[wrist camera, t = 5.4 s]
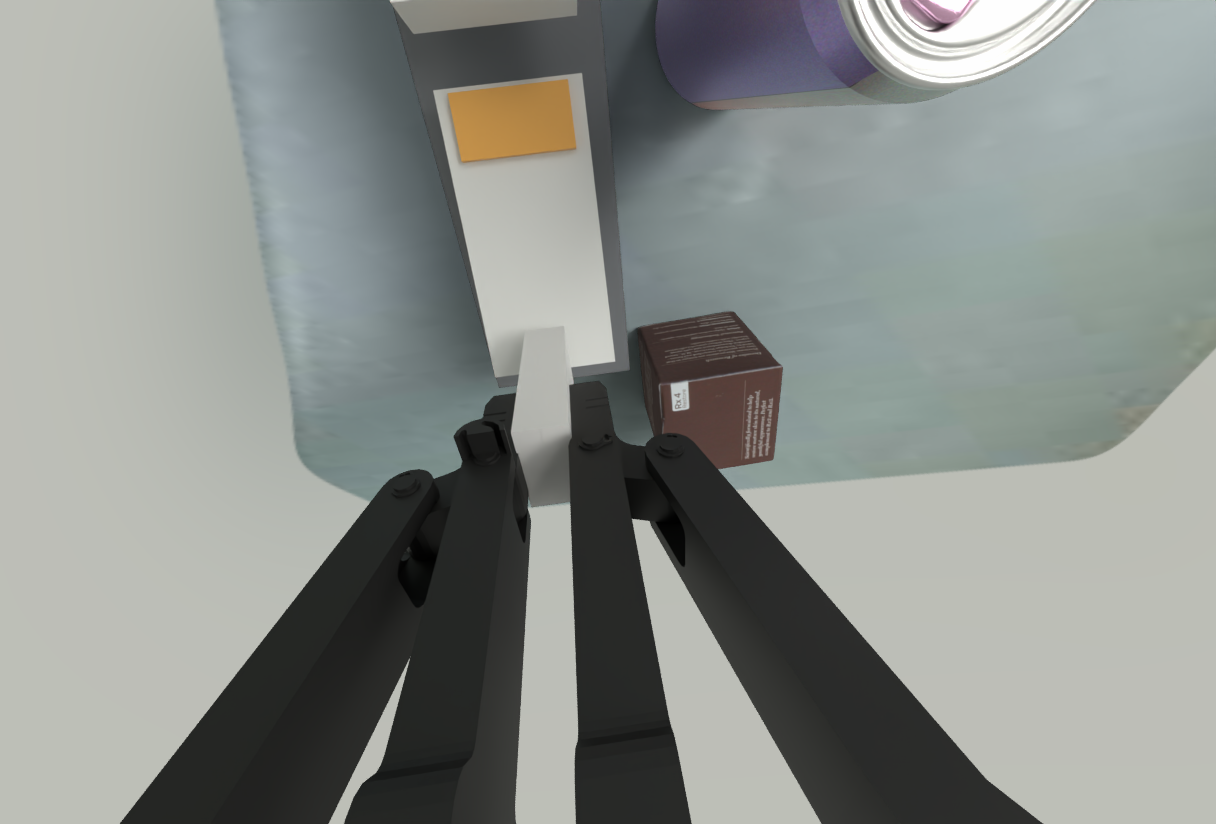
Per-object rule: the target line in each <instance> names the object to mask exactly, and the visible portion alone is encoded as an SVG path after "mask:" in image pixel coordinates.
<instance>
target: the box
mask: <svg viewBox="0 0 1216 824" xmlns="http://www.w3.org/2000/svg"><path fill="white" fill-rule="evenodd" d="M637 334H638V343H639V351H640V363H641V373H642V383H643V390H644V399H645V407H646V410H647V413H648V417H649V420H650V424H651V427H652V431H653V434H654V437H655V436H657V435H659V434H665V433H678V434H681V435H684V436H687V437H688V438H690V439H691V440H692V441H694V443H695V444H696V445H697V446H698V447H699V448H700V450H701V451H702V452H703V453H704V454H705V455H706V456H707V458H708V459H709V460H710V461H711V462H712V463H713V465H714V466H715V467H716V468H717V469H722V468H728V467H735V466H740V465H747V464H753V463H759V462H765V461H771V460H773V458H774V451H775V442H776V433H777V422H778V413H779V402H780V392H781V384H782V383H781V381H782V371H783V367H782V365H780V364H779V363H778V362H777V361H776V360H775V359H774V358H773V357H772V355H771V354H770V353H769V351H768V350H767V349H766V348H765V347H764V345H763V344H762V343H761V342H760V341H759V340H758V339H757V337H756V336H755V335H754V334H753V333H752V332H751V330H750V329H749V328H748V327H747V326H746V325H745V324H744V323H743V321H742V320H741V319H740V318H739V317H738V316H737V315H736V313H735V312H731V311H728V312H722V313H716V314H710V315H705V316H700V317H695V318H688V319H682V320H676V321H669V322H663V323H658V324H649V325H644V326H641V327H638V329H637Z"/></svg>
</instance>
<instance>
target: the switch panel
mask: <svg viewBox="0 0 1216 824" xmlns="http://www.w3.org/2000/svg"><path fill="white" fill-rule="evenodd" d="M393 9H394V12H395V16H396V19H397V23H398V27H399V30H400V34H401V37H402V41H403V44H404V48H405V52H406V55H407V59H408V62H409V66H410V70H411V73H412V77H413V80H414V84H415V88H416V91H417V95H418V98H419V102H420V106H421V109H422V113H423V116H424V120H425V124H426V127H427V131H428V134H429V138H430V141H431V145H432V149H433V152H434V156H435V159H436V163H437V167H438V170H439V174H440V177H441V181H442V185H443V188H444V192H445V195H446V199H447V203H448V206H449V210H450V213H451V217H452V221H453V224H454V228H455V231H456V235H457V238H458V242H459V246H460V249H461V253H462V256H463V260H464V264H465V267H466V271H467V274H468V278H469V282H470V285H471V289H472V292H473V296H474V300H475V303H476V307H477V310H478V314H479V317H480V321H481V325H482V328H483V332H484V335H485V339H486V343H487V346H488V342H487V338H486V333H485V328H484V324H483V319H482V314H481V310H480V305H479V301H478V296H477V291H476V287H475V282H474V277H473V273H472V268H471V264H470V259H469V254H468V250H467V245H466V240H465V236H464V231H463V227H462V222H461V217H460V213H459V208H458V203H457V199H456V194H455V189H454V185H453V180H452V176H451V171H450V166H449V162H448V157H447V152H446V148H445V143H444V139H443V134H442V129H441V125H440V120H439V115H438V111H437V106H436V102H435V97H434V92H433V90H441V89H449V88H458V87H466V86H475V85H483V84H492V83H500V82H509V81H517V80H526V79H534V78H543V77H552V76H560V75H569V74H577V73H582V79H583V87H584V96H585V104H586V113H587V122H588V130H589V139H590V148H591V156H592V165H593V173H594V182H595V191H596V199H597V208H598V216H599V225H600V234H601V242H602V251H603V260H604V268H605V277H606V285H607V294H608V303H609V311H610V320H611V329H612V337H613V346H614V354H615V362H608V363H601V364H593V365H586V366H578V367H571V370H572V376H573V378H576V377H583V376H591V375H598V374H606V373H613V372H621V371H628V370H630V366H629V353H628V341H627V328H626V316H625V303H624V291H623V279H622V266H621V254H620V241H619V229H618V216H617V204H616V191H615V179H614V166H613V154H612V141H611V129H610V116H609V104H608V91H607V79H606V66H605V54H604V41H603V29H602V16H601V4H600V0H577V16H568V17H559V18H550V19H542V20H533V21H524V22H515V23H506V24H498V25H489V26H480V27H471V28H463V29H454V30H445V31H436V32H427V33H419V34H413V33H412V31H411V30H410V29H409V27H408V26H407V25H406V23H405V22H404V21H403V19H402V18H401V17H400V15H399V14H398V13H397V11H396V10H395V8H394V7H393ZM488 350H489V347H488ZM489 353H490V351H489ZM490 357H491V356H490ZM518 378H519V374H518V375H511V376H503V377H496V379H497V382H498V386H499V388H501V387H509V386H516V385H518Z"/></svg>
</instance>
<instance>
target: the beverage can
mask: <svg viewBox="0 0 1216 824" xmlns="http://www.w3.org/2000/svg"><path fill="white" fill-rule="evenodd" d="M1095 1H1096V0H658V4H657V10H656V20H655V36H656V45H657V51H658V56H659V59H660V63H661V66H662V68H663V71H664V73H665V75H666V77H667V79H668V80H669V82H670V84H671V85H672V86H673V88H674V89H675V90H676V91H677V93H678V94H680V95H681V96H682V97H683V98H684V99H685V100H687V101H688V102H690V103H692V104H693V105H696V106H698V107H701V108H704V109H710V110H727V109H756V108H785V107H814V106H843V105H872V104H901V103H915V102H921V101H926V100H930V99H934V98H937V97H940V96H943V95H946V94H948V93H951V92H953V91H955V90H957V89H960V88H963V87H968V86H972V85H975V84H979V83H982V82H984V81H987V80H990V79H992V78H995V77H997V76H999V75H1001V74H1003V73H1006V72H1008V71H1009V70H1011V69H1013V68H1015V67H1017V66H1019V65H1020V64H1022V63H1023V62H1025V61H1027V60H1028V59H1030V58H1031V57H1033V56H1034V55H1036V54H1037V53H1039V52H1040V51H1041V50H1043V49H1044V48H1045V47H1047V46H1048V45H1049V44H1050V43H1052V42H1053V41H1054V40H1056V39H1057V38H1058V37H1059V36H1060V35H1061V34H1063V33H1064V32H1065V31H1066V30H1067V29H1068V28H1069V27H1071V26H1072V25H1073V24H1074V23H1075V22H1076V21H1077V20H1078V19H1079V18H1080V17H1081V16H1082V15H1083V14H1084V13H1085V12H1086V11H1087V10H1088V9H1089V8H1090V7H1091V6H1092V5H1093V4H1094V3H1095Z"/></svg>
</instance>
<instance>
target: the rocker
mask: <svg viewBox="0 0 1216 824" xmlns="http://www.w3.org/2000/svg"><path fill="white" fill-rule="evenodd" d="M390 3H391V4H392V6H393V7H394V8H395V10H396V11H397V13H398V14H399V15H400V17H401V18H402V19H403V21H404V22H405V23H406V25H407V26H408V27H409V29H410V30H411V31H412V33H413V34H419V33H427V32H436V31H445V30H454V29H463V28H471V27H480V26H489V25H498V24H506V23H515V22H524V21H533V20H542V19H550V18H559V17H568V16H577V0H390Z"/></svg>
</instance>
